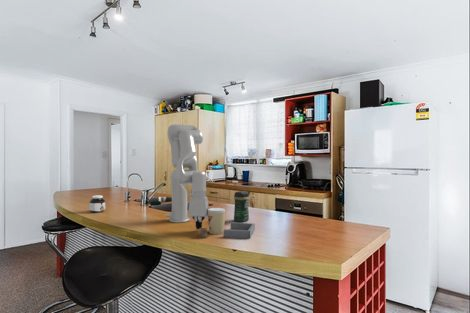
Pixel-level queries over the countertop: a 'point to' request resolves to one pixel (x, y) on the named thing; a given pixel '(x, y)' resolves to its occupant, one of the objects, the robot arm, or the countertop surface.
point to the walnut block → (202, 232)
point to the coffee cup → (216, 220)
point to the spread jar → (97, 204)
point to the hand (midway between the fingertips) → (198, 228)
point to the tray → (240, 230)
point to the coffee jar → (241, 206)
